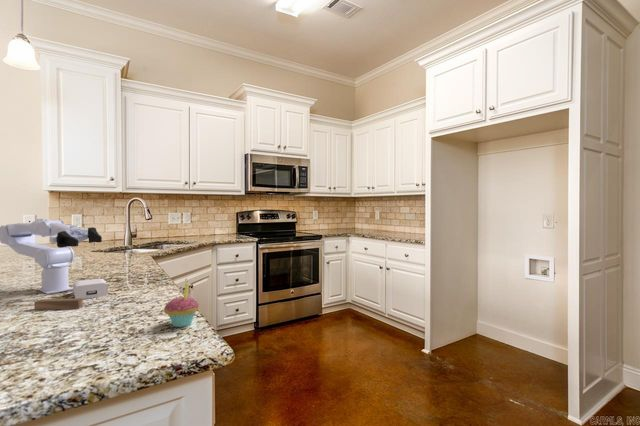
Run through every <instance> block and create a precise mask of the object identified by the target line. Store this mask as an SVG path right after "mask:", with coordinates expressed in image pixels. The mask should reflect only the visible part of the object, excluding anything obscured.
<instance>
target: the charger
mask: <svg viewBox="0 0 640 426" xmlns="http://www.w3.org/2000/svg"><path fill="white" fill-rule="evenodd" d="M72 286H73V287H72V288H73V289H72V290H73V296H74V298H83V300H86V299H91V298H97V297H98V298H99V297H104V296H107V295H108V293H109V292H108V289H109V288H108V286H109V285H108V283H107V281H106V280H105V279H104V278H93V279H84V280H83V279H82V280H78V281H74V282H73V285H72Z"/></svg>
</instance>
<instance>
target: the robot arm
mask: <svg viewBox="0 0 640 426" xmlns="http://www.w3.org/2000/svg"><path fill="white" fill-rule="evenodd" d="M36 236H40V237H41V238H45V237H49V243H52V244H56V246H57V247H52V246H47V245H43V244H39V243H37V242H36ZM102 239H103V237H102V236H101V235H100V234H99V232H98V230H97V228H96V227H88V228H87V229H86V228H80V227H78V224H71V225H68V224H65V222H64V221H63V220H61V219H57V220H51V219H50V218H49V219H48V218H46V219H44V218H37V219H36V220H33V221H32V222H20V223H18V222H17V223H9V224H4V225H0V243H1V244H4V245H7V246H9V247H10V248H11V249H12V250H13V251H14V252H15V253H17V254H19V255H22V256H24V257H25V256H26V257H30V258H33V259H34V262H35V263H36V264H37V265H39V266H40V267H41V268H43V269H42V270H41V287H40V288H38V289H37V290H38V291H40V292H41V293H44V294H47V295H48V294H54V293H60V292H64V291H71V290H73V287H71V286H69V283H70V282H69V281H70V280H69V276H70V275H69V266H71V264H72V263H73V261H74V259H75V251H74V249H73V248H72V247H74V248H75V247H79V244H80V243H81V242H84V241H86V240H88V243H89V244H90V243H102V242H103V241H102Z"/></svg>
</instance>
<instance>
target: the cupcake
mask: <svg viewBox="0 0 640 426" xmlns="http://www.w3.org/2000/svg"><path fill="white" fill-rule="evenodd" d="M188 289H189V280H187V282H186V283H185V288H184V293H183V294H184V295H183V297H176V298H173V299H171V300H170V301H168V302H167V303H166V304H165V306H164V308H163V312H164V313H165V314H166V315H168V316H169V318H170V322H171V324H172V326H173V327H176V328H183V327H188V326H190V325H192V323H193V320H194V317H195V314H196V312H198V310H199V306H200V304H199V303H198V301H197V300H195V298H192V297H190V296H188Z"/></svg>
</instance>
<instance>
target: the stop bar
mask: <svg viewBox="0 0 640 426" xmlns="http://www.w3.org/2000/svg"><path fill="white" fill-rule="evenodd" d="M83 300H84V299H83V298H75V297H74V298H52V299H51V298H50V299H49V298H48V299H39V300H35V301H34V302H33V303H34V311H47V310H70V309H71V310H72V309H80V308H82V307H83V305H84V304H83V303H84V301H83Z"/></svg>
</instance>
